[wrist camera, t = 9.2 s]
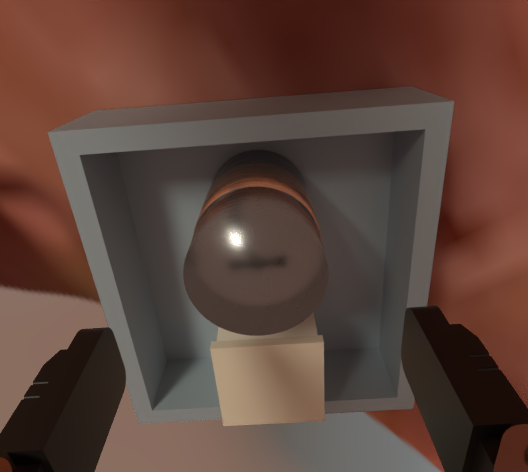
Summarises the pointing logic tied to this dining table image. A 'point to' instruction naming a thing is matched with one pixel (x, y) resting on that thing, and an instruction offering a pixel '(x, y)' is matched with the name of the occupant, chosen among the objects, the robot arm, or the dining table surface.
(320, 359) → the lid
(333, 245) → the crate
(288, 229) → the tin
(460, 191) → the dining table surface
